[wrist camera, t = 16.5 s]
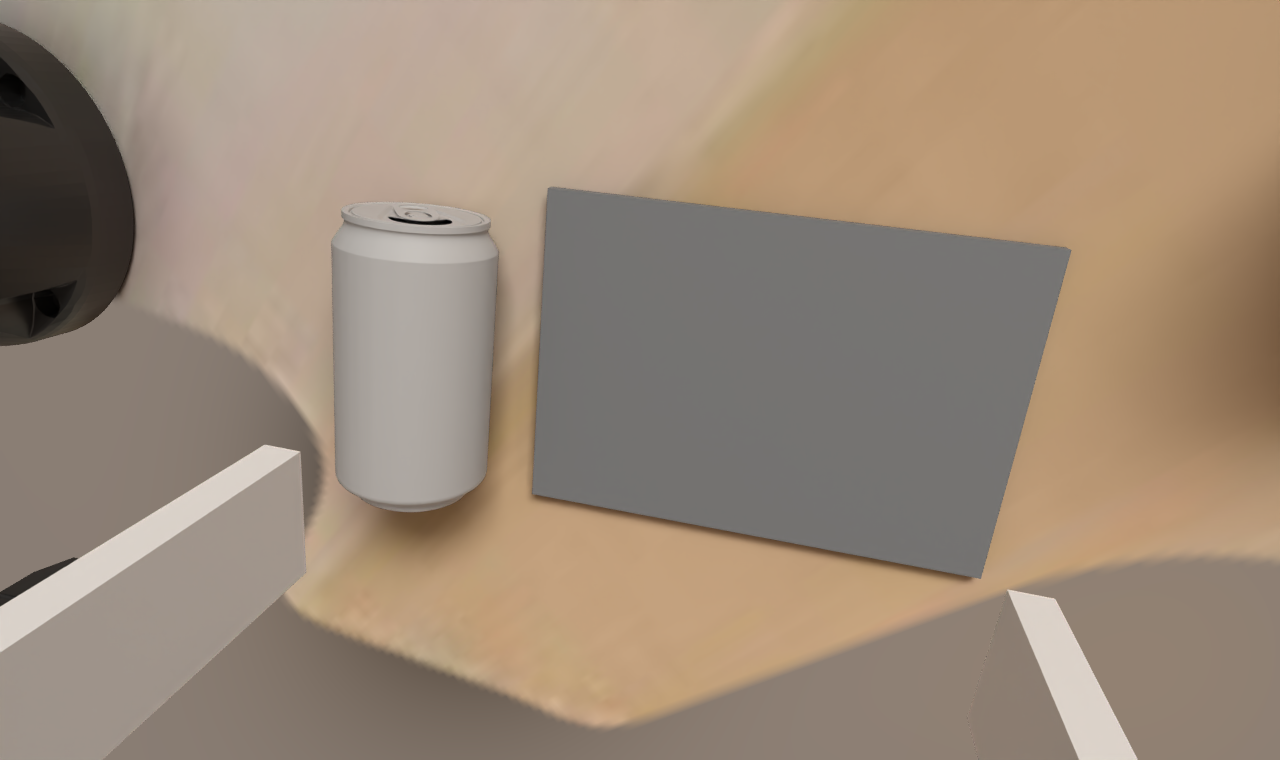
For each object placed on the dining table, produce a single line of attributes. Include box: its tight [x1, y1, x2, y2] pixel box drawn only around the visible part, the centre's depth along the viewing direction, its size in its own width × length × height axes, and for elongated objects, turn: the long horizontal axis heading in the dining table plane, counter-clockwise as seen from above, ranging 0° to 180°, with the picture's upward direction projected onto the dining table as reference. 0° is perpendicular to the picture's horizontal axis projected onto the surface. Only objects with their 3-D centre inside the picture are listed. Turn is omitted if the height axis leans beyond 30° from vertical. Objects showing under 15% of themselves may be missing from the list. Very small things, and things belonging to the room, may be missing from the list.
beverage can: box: [331, 202, 499, 512], centre depth 33 cm, size 6×6×12 cm
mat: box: [532, 187, 1071, 579], centre depth 33 cm, size 20×14×1 cm
